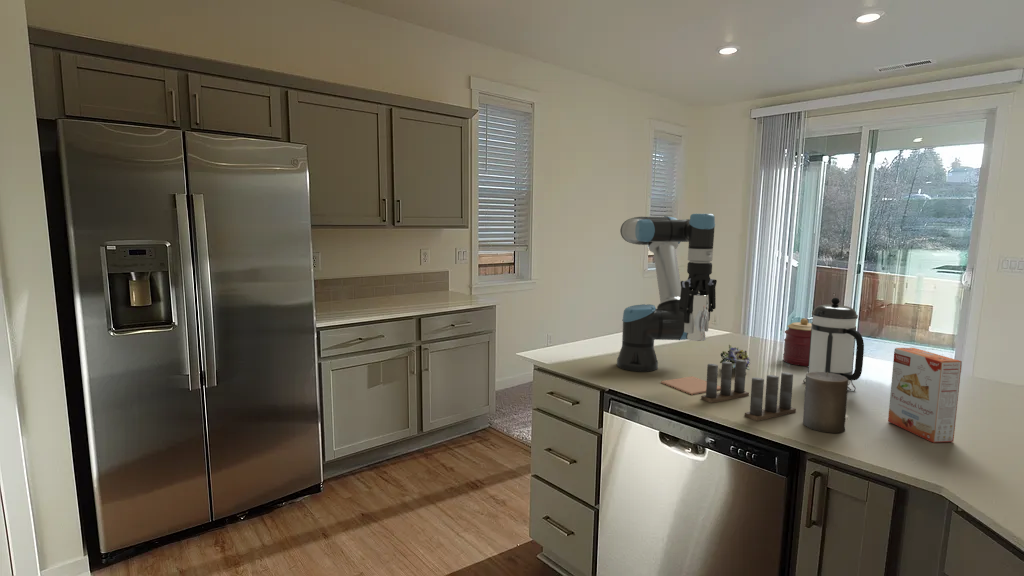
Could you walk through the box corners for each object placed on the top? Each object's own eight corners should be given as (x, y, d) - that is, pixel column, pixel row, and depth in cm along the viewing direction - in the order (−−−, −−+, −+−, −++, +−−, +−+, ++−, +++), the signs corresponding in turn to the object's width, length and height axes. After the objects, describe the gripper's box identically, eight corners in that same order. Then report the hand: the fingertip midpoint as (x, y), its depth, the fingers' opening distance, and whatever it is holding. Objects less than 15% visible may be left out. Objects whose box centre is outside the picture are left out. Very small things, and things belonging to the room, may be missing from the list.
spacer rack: (701, 398, 158) (702, 364, 157) (738, 392, 165) (740, 358, 164) (756, 421, 140) (759, 381, 139) (795, 412, 147) (798, 374, 146)
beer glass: (708, 341, 165) (711, 295, 163) (686, 340, 166) (688, 295, 164) (704, 336, 172) (707, 292, 170) (683, 335, 173) (685, 292, 171)
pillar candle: (853, 431, 134) (858, 375, 132) (824, 435, 131) (828, 377, 129) (821, 418, 143) (825, 365, 141) (793, 421, 140) (797, 368, 139)
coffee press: (796, 387, 170) (803, 298, 166) (809, 377, 181) (815, 293, 178) (859, 399, 158) (867, 303, 155) (868, 388, 170) (876, 298, 166)
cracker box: (886, 422, 140) (893, 347, 138) (906, 421, 141) (914, 346, 138) (932, 443, 126) (940, 360, 124) (954, 442, 127) (963, 360, 124)
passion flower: (740, 388, 186) (738, 367, 179) (713, 376, 194) (709, 355, 187) (757, 368, 190) (755, 346, 183) (729, 357, 198) (726, 335, 191)
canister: (785, 356, 211) (788, 314, 209) (822, 361, 204) (825, 317, 201) (780, 363, 201) (783, 318, 198) (818, 368, 193) (822, 322, 191)
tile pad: (661, 382, 174) (661, 381, 174) (692, 377, 180) (692, 376, 180) (691, 395, 162) (691, 393, 162) (723, 389, 168) (723, 387, 168)
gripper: (685, 263, 158) (682, 337, 161) (730, 261, 167) (726, 331, 170) (668, 261, 165) (665, 332, 168) (712, 259, 173) (708, 326, 176)
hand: (696, 331), depth 169 cm, fingers closed on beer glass, 6 cm apart
